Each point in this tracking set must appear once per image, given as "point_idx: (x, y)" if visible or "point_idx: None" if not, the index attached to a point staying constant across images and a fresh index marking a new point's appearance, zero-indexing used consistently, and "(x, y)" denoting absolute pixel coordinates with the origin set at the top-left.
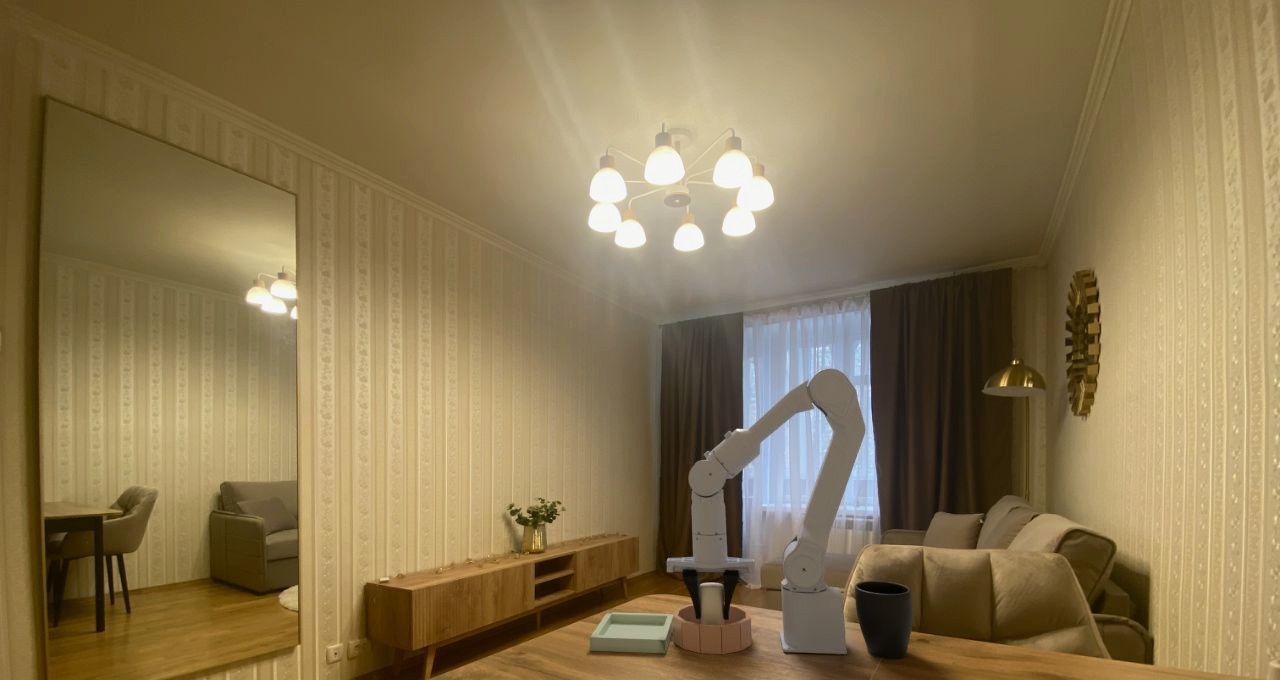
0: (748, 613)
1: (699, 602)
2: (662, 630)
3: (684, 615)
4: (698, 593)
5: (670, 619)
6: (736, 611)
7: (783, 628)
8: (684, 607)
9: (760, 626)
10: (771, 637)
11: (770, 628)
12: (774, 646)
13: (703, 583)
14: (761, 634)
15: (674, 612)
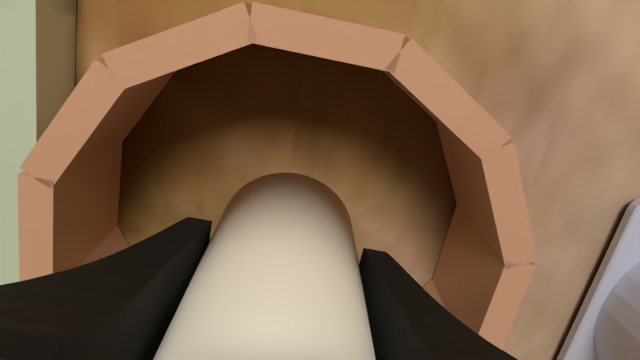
0: (513, 293)
1: (180, 290)
2: (4, 275)
3: (108, 128)
4: (149, 353)
5: (25, 90)
6: (469, 151)
7: (635, 343)
8: (86, 121)
9: (597, 33)
10: (577, 208)
11: (636, 75)
12: (540, 310)
13: (181, 354)
14: (547, 163)
15: (21, 230)
